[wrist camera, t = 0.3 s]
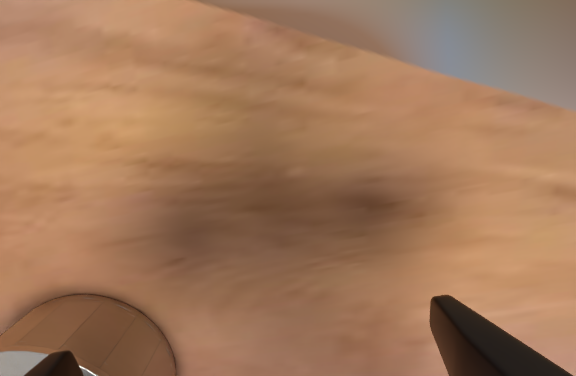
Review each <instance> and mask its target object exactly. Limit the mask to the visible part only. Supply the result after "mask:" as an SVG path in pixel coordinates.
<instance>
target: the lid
mask: <svg viewBox="0 0 576 376" xmlns="http://www.w3.org/2000/svg"><path fill="white" fill-rule="evenodd" d="M57 351H59V350H55V349H51V348H45V347H38V346H18V345H17V346H6V347H0V376H24V375H25V374H26V373H27V372H28V371H30V370H31V369H32V368H33V367H34V366H36V365H37V364H38V363H39V362H40V361H42V360H43V359H44V358H45V357H46V356H48V355H49V354H51V353H53V352H57ZM75 358H76V360H77V362H78V364H79V366H80V367H81V369H82V371H83V376H110V375H108V374H107V373H106V372H104V371H103V370H101V369H100V368H98V367H97V366H95V365H93V364H92V363H90V362H88V361H86V360H84V359H81V358H79V357H77V356H75Z"/></svg>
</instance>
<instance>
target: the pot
mask: <svg viewBox="0 0 576 376" xmlns="http://www.w3.org/2000/svg"><path fill="white" fill-rule="evenodd" d="M17 345H18V346H38V347H45V348H51V349H55V350H59V351H64V350H69V351H71V352H72V353H73V355H74V356H77V357H79V358H81V359H84V360H86V361H88V362H90V363H92V364H93V365H95V366H97V367H98V368H100V369H101V370H103V371H104V372H106V373H107V374H108V375H110V376H176V366H175V361H174V356H173V353H172V351H171V348H170V346H169V344H168V342H167V340H166V338H165V337H164V335H163V334H162V333H161V331H160V330H159V329H158V328H157V326H156V325H155V324H154V323H153V322H152V321H151V320H150V319H148V318H147V317H146V316H145V315H144V314H142V313H141V312H139V311H138V310H136V309H135V308H133V307H131V306H129V305H127V304H125V303H123V302H120V301H117V300H115V299H111V298H107V297H104V296H97V295H83V294H79V295H69V296H64V297H60V298H56V299H54V300H51V301H48V302H46V303H44V304H42V305H40V306H38V307H36V308H34V309H33V310H32V311H31V312H29V313H28V314H27V315H26V316H24V317H23V318H22V319H21V320H19V321H18V322H17V323H16V324H14V325H13V326H12V327H11V328H9V329H8V330H7V331H5V332H4V333H3V334H2V335H0V347H6V346H17Z"/></svg>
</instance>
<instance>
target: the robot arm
mask: <svg viewBox="0 0 576 376" xmlns="http://www.w3.org/2000/svg"><path fill="white" fill-rule="evenodd" d="M430 327H431V331H432V333H433V336H434V338H435V341H436V343H437V346H438V348H439V351H440V354H441V356H442V359H443V361H444V364H445V366H446V369H447V371H448V374H449V376H573V375H571V374H570V373H568V372H567V371H565V370H564V369H562V368H561V367H559V366H558V365H556V364H555V363H553V362H551V361H550V360H548V359H547V358H545V357H544V356H542V355H541V354H539V353H538V352H536V351H535V350H533V349H532V348H530V347H528V346H527V345H525V344H524V343H522V342H521V341H519V340H518V339H516V338H515V337H513V336H512V335H510V334H508V333H507V332H505V331H504V330H502V329H501V328H499V327H498V326H496V325H495V324H493V323H492V322H490V321H489V320H487V319H485V318H484V317H482V316H481V315H479V314H478V313H476V312H475V311H473V310H472V309H470V308H469V307H467V306H465V305H464V304H462V303H461V302H459V301H458V300H456V299H455V298H453V297H452V296H449V295H441V296H435V297H433V298H432V299H431V305H430ZM24 376H83V371H82V369H81V367H80V366H79V364H78V362H77V360H76V358H75V356H74V355H73V353H72V352H71V351H69V350H64V351H57V352H53V353H51V354H49V355H48V356H46V357H45V358H44V359H43V360H42V361H40V362H39V363H38V364H37V365H36V366H34V367H33V368H32V369H31V370H30V371H28V372H27V373H26V374H25V375H24Z"/></svg>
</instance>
